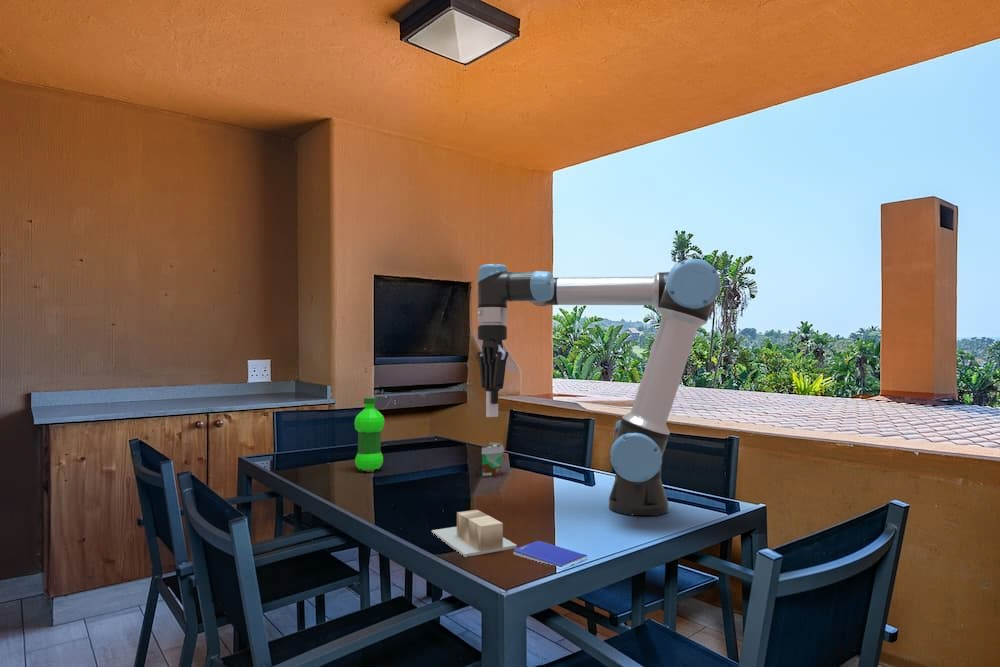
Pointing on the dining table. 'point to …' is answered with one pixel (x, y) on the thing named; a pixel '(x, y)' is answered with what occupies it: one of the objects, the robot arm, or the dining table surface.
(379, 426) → the plastic bottle
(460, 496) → the dining table surface
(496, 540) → the birch block
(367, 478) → the dining table surface
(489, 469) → the food container
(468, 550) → the rubber mat
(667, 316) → the robot arm
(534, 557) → the hard drive
